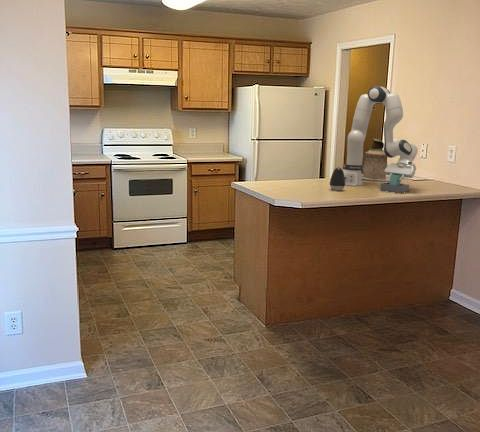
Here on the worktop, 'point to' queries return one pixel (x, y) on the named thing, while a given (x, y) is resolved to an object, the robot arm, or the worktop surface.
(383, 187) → the charcoal crate
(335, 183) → the black tapered dome
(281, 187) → the worktop surface
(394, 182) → the teal crate
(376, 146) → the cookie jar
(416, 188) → the worktop surface
